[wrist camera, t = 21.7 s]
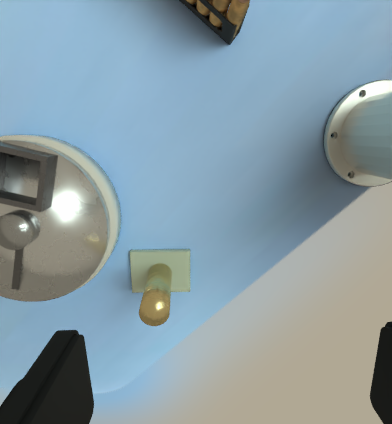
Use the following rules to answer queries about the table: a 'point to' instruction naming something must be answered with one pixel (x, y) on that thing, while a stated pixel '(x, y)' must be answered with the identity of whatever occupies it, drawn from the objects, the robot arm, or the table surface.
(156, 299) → the brass rounded cylinder
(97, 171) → the chuck housing
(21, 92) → the table surface
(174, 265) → the mat
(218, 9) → the ammunition clip
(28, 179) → the grey round shallow disc
